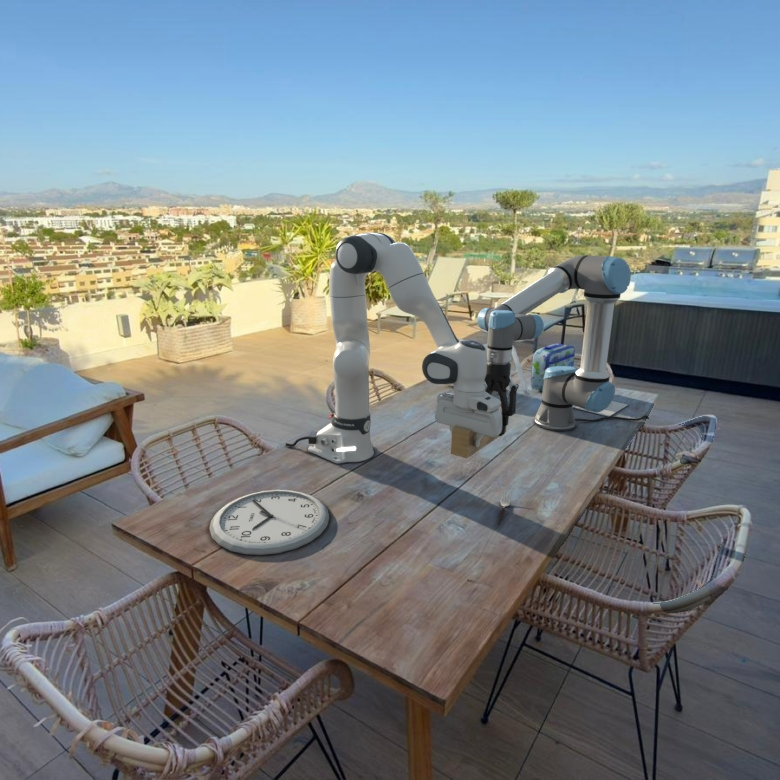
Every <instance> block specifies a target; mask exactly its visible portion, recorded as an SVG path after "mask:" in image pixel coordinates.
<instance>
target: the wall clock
mask: <svg viewBox="0 0 780 780" xmlns="http://www.w3.org/2000/svg"><path fill="white" fill-rule="evenodd" d="M329 521H330V514H329V509H328V507H327V506H326V505H325V504H324V503H323V502H322V501H321V500H320V499H318V498H317V497H315V496H313V495H310V494H308V493H304V492H301V491H295V490H291V489H290V490H288V489H272V490H270V489H269V490H262V491H258V492H252V493H249V494H246V495H244V496H240V497H238V498H235V499H234V500H231V501H230V502H229V503H226V504H225V505H224V506H223V507H222V508H221V509H219V510H218V511H216V513H215V514H214V516H213V517H212V518H211V521H210V524H209V533H210V536H211V539H212V540H213V541H214V542H215V543H216V544H217V545H218V546H219V547H222V548H224V549H226V550H228V551H230V552H234V553H237V554H243V555H254V556H266V555H274V554H275V555H276V554H281V553H285V552H289V551H292V550H296V549H298V548H301V547H304V546H305V545H307V544H309V543H311V542H313V541H314V540H316V539H317V538H318V537H319V536H321V535H322V534H323V532H324V531H325V530H326V529H327V527H328V525H329Z"/></svg>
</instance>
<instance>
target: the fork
mask: <svg viewBox="0 0 780 780" xmlns="http://www.w3.org/2000/svg"><path fill="white" fill-rule="evenodd" d="M504 493H505V491H503V492H502V496H501V499H500V505H501V506H502V508H501V510H500V511H499V514H498V520H497V521H498V522H497V526H500V524H501V522H502V520H503V518H504V517H505V516H504V515H505V508H506V507H509V506H510V505H511V500H512V494H510V493H509V492H508V493H505V495H504ZM509 494H510V496H509Z"/></svg>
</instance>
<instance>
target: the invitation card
mask: <svg viewBox="0 0 780 780" xmlns="http://www.w3.org/2000/svg"><path fill="white" fill-rule="evenodd" d="M628 406H629V404H627V403H623V402H618V401H614V400H612V402H611V403H610V404H609V406H608V407H607V408H606V409H605V410H603V411H601V412H593V411H587V410H586V409H583V408H580V407H577V406H574V407H573V409H575V410H581V411H584V412H587V413H593V414H596V415H600V416H603V417H610V416H613V415H614V414H616V413H617V412H619V411H621V410H623V409H624V408H626V407H628Z"/></svg>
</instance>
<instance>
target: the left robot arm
mask: <svg viewBox="0 0 780 780" xmlns="http://www.w3.org/2000/svg"><path fill="white" fill-rule="evenodd" d="M334 253H335V255H334V257H335V260H334V261H333V262H332V264H331V265H330V269H329V277H328V279H329V281H328V286H329V287H328V292H329V293H328V294H329V305H330V317H331V324H332V329H333V335H334V341H335V350H334V353H333V355H332V372H333V373H332V375H333V384H334V400H335V401H334V402H335V403H334V409H335V411H334V412H332V414H330V415H328V420H330V419H331V422H329V423H328V424H326V425H325V426H324V427H322V428H321V429H319V430H318V431H311V433H310V434H309V435H307V436H302V437H299V438H296V440H295V441H294V442H293V443H285V446H286V447H291V448H292V447H296V445H297V444H298V443H299V442H300V441H301V442H302V441H304V440H308V445H309V446H308V449H307V451H308V452H309V453H312V454H314V455H316V456H318V457H320V458H323V459H324V460H328V461H329V462H332V463H333V464H345V463H358V462H363V461H366V460H369V459H371V458H372V457H374V454H375V452H374V448H373V445H372V440H371V439H372V438H371V423H372V422H371V421H372V420H371V413H370V373H369V372H370V371H369V369H370V367H369V366H370V357H371V345H370V343H371V342H370V333H369V332H370V331H369V323H368V309H367V308H368V307H367V295H366V292H367V291H366V278H367V276H368V275H369V274H370V273H371V274H374V273H379V274H380V275H381V276H382V278H383V280H384V282H385V285H386V287H387V290H388V293H389V294H390V297H391V299H392V301H393V303H394V304H395V305H396V307H397V308H398V309H399V310H400V311H401V312H403V313H405V314H409V315H412V316H415V317H416V318H418V319H419V320H421V321H422V322H423V323H424V324H425V326H426V328H427V330H428V331H429V334H430V335H431V337H432V339H433V341H434V343H435V345H436V348H437V349H435V350H434V351H432V352H429V353H428V354H427V355H426V356H425V357H424V358H423V360H422V364H421V370H422V374H423V376H424V378H425V379H426V380H427V382H429V383H431V384H434V385H445V384H450V385H453V393H447V392H445V391H443V392H441V393H439V394H437V397H436V407H435V413H434V414H435V415H434V421H436V423H439V424H442V425H446V426H449V431H450V433H451V434H452V428H453V427H455V426H458V427H462V428H466V429H470V430H472V432H475V433H477V436H478V438H477V439H475V440H473V446H475V447H479V446H480V440H481V439H482V438H483V436H484V435H487V436H490V437H496V436H498V435H499V434H500V433H501V432H502V413H501V411H500V410H499V409H498V408H499V407H501V401H500V398H497V397H496V396H493V394H492V395H490V394H489V393H487V392H486V383H485V377H486V374H487V353H486V349H485V347H484V346H483V344H482V343H480V342H478V341H475V340H471V339H463V340H462V341H459V340H458V338H457V336H456V334H455V332H454V330H453V328H452V325H450V322H449V320H448V318H447V316H446V314H445V312H444V311H443V309H442V306H441V305H440V303H439V302H438V300H437V298H436V297H435V295H434V293H433V290H432V288H431V286H430V283H429V282H428V279H427V277H426V275H425V272H424V270H423V267H422V266H421V264H420V262H419V259H418V258H417V256H416V255H415V253H414V251H413V250H412V249H411V247H410V245H408V244H406V243H405V242H396V241H395V239H394V238H393V237H392V236H390V235H389V234H386V233H384V232H364V233H360V234H357V235H355V234H352V235H349V236H346V237H344V238H342V239H341V240H340V241H339V242H338V243H337V245H336V248H335V252H334Z"/></svg>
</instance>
